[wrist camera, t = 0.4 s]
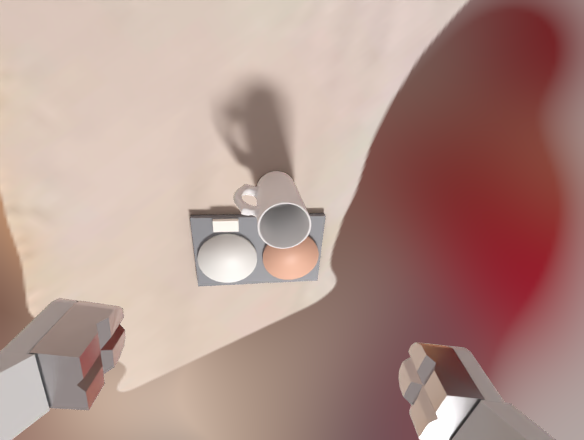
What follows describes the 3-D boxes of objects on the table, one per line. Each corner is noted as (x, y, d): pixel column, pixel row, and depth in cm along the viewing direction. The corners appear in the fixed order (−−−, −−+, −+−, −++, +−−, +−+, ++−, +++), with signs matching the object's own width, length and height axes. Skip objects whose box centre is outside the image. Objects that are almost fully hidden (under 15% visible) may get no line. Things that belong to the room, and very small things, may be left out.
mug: (303, 176, 47) (319, 210, 36) (288, 212, 50) (299, 253, 39) (241, 156, 44) (240, 187, 34) (229, 195, 47) (224, 235, 36)
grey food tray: (191, 215, 47) (189, 220, 46) (324, 213, 51) (326, 218, 49) (199, 282, 54) (197, 289, 52) (316, 277, 57) (318, 283, 56)
